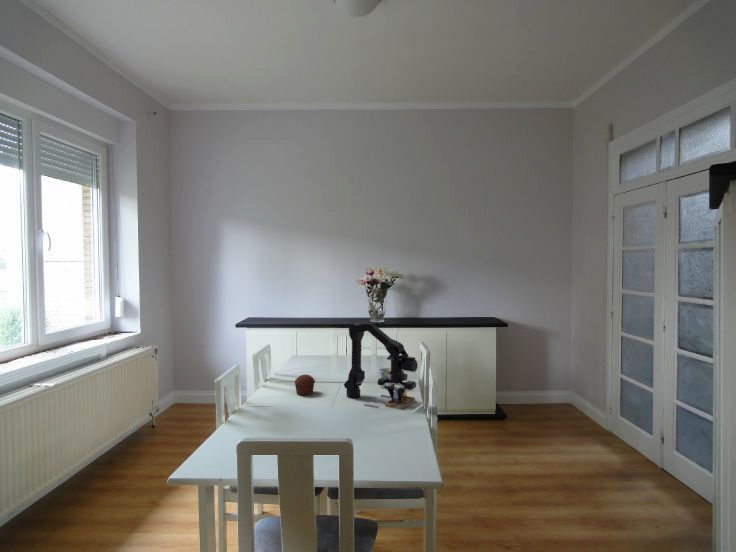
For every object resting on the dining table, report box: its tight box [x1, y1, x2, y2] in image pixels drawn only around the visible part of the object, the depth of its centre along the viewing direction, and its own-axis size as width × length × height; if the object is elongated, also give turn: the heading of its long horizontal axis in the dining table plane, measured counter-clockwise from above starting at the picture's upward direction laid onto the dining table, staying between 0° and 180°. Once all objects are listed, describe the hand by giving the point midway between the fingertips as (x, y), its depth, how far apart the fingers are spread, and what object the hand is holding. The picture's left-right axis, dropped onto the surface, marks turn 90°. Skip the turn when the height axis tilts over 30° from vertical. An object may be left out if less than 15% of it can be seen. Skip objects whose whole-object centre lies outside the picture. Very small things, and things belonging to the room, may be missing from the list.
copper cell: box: [399, 386, 408, 401], centre depth 232 cm, size 4×4×7 cm
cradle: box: [363, 394, 392, 409], centre depth 231 cm, size 7×18×2 cm, turn 150°
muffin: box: [294, 374, 316, 397], centre depth 250 cm, size 12×11×10 cm
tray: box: [384, 395, 416, 410], centre depth 229 cm, size 9×16×2 cm, turn 150°
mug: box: [379, 367, 396, 390], centre depth 257 cm, size 12×9×11 cm
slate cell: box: [393, 387, 400, 404], centre depth 225 cm, size 4×4×7 cm
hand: (396, 400), depth 225 cm, fingers closed on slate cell, 3 cm apart
